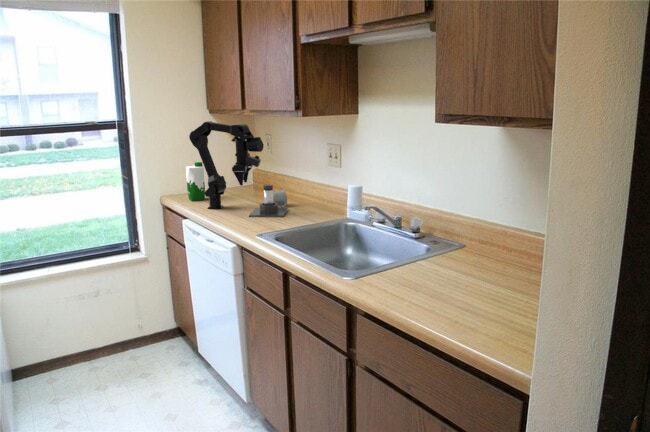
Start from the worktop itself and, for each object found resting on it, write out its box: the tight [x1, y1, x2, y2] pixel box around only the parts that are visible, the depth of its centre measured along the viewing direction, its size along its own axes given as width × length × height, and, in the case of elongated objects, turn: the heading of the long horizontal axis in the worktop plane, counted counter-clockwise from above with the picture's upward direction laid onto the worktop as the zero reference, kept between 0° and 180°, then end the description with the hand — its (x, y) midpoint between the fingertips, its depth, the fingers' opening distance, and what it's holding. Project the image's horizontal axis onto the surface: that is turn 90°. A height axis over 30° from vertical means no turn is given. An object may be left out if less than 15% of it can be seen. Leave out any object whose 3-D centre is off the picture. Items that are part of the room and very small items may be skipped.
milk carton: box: [185, 161, 206, 202], centre depth 276 cm, size 9×9×20 cm
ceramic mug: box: [273, 189, 288, 208], centre depth 258 cm, size 11×8×8 cm
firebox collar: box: [248, 202, 289, 218], centre depth 243 cm, size 16×16×4 cm
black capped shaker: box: [262, 184, 274, 206], centre depth 242 cm, size 4×4×12 cm
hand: (243, 183), depth 247 cm, fingers open, 9 cm apart
